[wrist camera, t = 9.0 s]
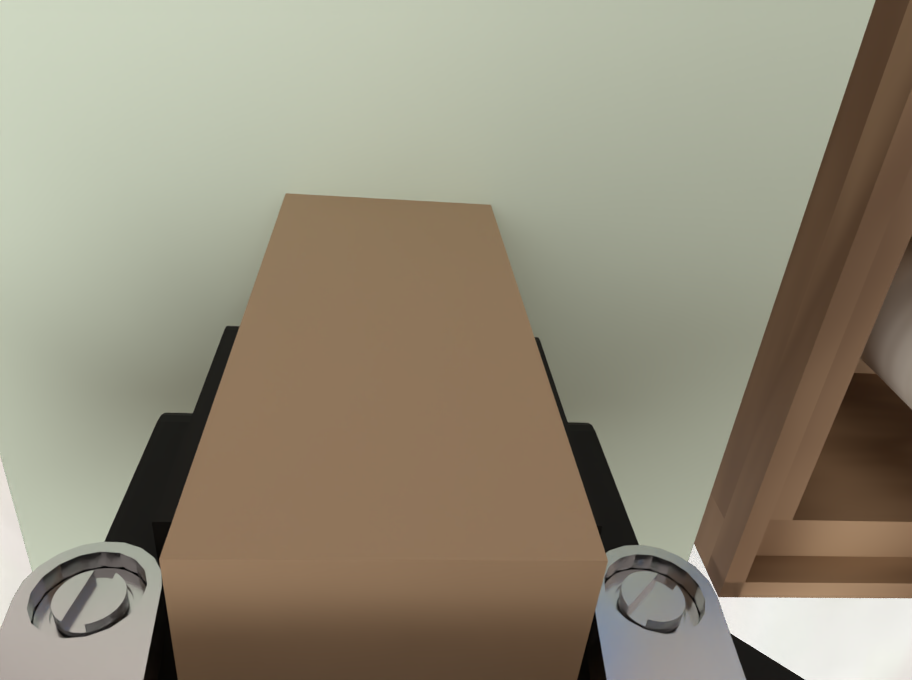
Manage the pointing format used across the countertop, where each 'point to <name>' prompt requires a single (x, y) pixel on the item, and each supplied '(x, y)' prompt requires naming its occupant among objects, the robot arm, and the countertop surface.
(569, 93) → the lid
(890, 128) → the crate
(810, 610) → the countertop surface
